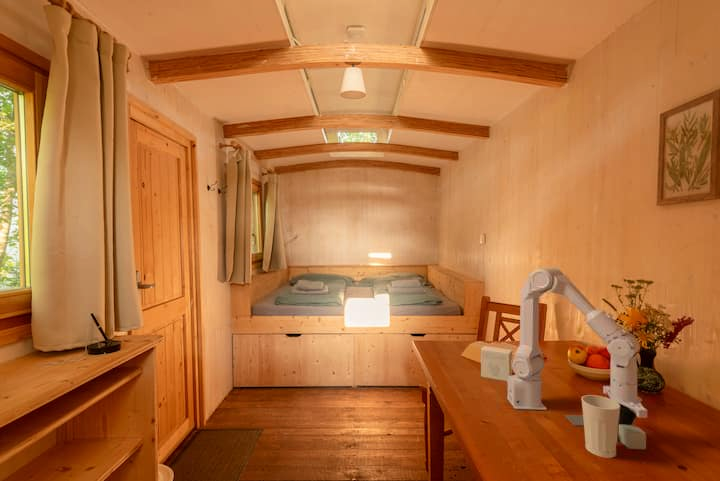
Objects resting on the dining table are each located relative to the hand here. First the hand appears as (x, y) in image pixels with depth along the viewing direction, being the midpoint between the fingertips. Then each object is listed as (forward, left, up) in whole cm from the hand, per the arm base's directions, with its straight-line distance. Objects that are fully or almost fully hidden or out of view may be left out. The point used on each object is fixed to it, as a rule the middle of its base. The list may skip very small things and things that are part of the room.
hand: (623, 431), depth 95 cm
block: (0, -3, -1) cm, 4 cm away
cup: (-10, -6, -2) cm, 12 cm away
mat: (-7, +8, -1) cm, 11 cm away
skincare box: (-21, +41, -2) cm, 46 cm away
